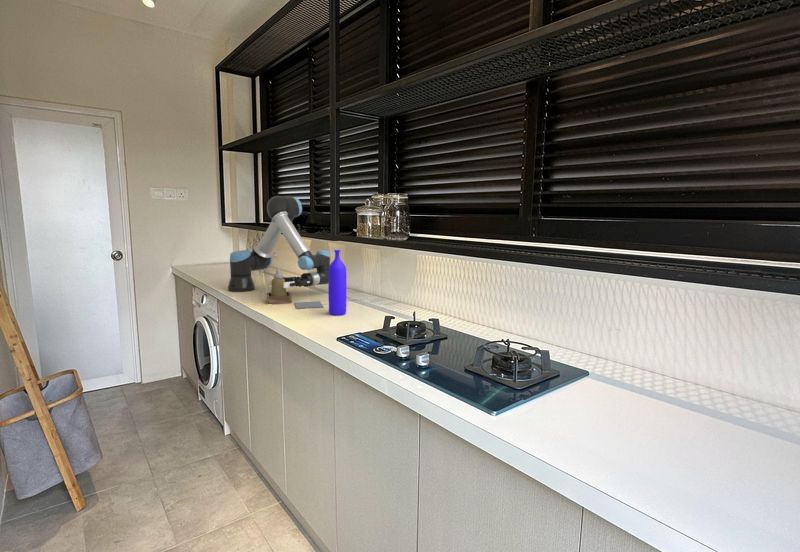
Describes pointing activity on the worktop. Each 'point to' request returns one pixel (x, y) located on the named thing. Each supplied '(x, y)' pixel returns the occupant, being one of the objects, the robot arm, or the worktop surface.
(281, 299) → the holder
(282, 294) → the squeeze bottle
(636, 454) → the worktop surface
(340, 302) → the bottle
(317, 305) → the mat
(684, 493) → the worktop surface
